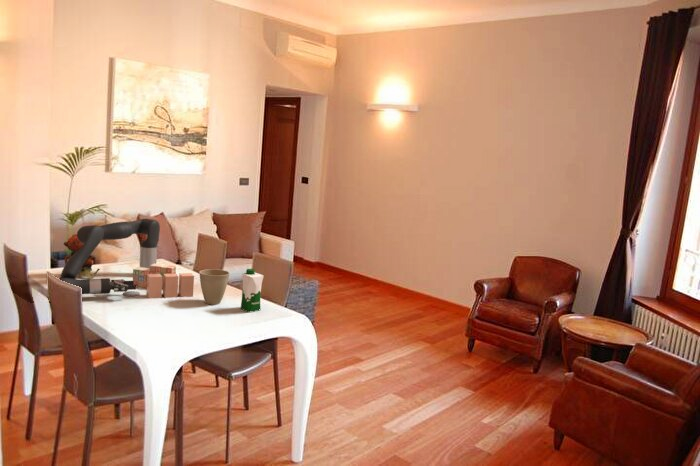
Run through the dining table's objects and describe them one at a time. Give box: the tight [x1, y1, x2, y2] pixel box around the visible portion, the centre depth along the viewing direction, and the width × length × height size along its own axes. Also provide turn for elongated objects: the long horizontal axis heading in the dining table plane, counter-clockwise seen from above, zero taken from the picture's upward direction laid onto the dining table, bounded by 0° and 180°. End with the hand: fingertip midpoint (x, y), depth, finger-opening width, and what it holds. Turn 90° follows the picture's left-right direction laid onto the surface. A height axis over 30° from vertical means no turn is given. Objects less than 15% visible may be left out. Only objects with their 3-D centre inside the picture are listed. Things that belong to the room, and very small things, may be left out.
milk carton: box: [240, 268, 265, 312], centre depth 275 cm, size 9×9×20 cm
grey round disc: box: [122, 290, 141, 297], centre depth 283 cm, size 8×8×1 cm
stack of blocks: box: [132, 263, 177, 290], centre depth 300 cm, size 21×6×12 cm, turn 87°
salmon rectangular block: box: [162, 273, 179, 299], centre depth 286 cm, size 6×6×11 cm
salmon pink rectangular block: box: [146, 274, 163, 299], centre depth 282 cm, size 6×6×11 cm
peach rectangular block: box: [178, 272, 195, 298], centre depth 289 cm, size 6×6×11 cm
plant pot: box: [198, 268, 230, 306], centre depth 280 cm, size 15×15×16 cm
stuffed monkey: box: [63, 233, 101, 279], centre depth 304 cm, size 15×17×25 cm
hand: (134, 284), depth 277 cm, fingers open, 8 cm apart
